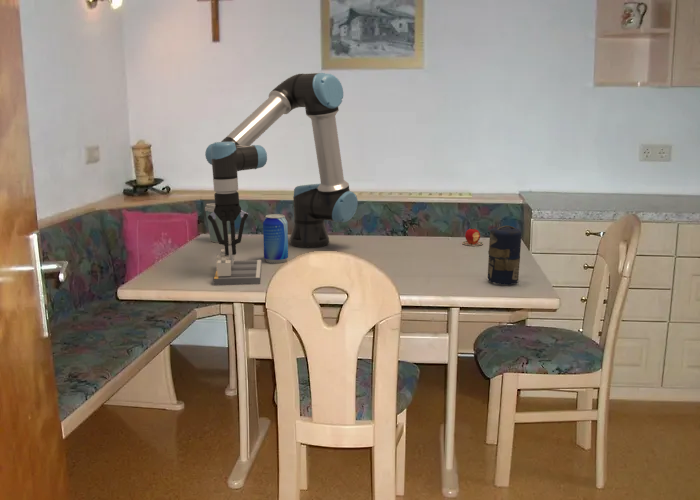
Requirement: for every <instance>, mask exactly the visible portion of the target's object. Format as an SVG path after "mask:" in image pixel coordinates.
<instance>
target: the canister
mask: <svg viewBox="0 0 700 500" xmlns="http://www.w3.org/2000/svg"><path fill="white" fill-rule="evenodd" d="M521 245H522V231H521V230H520V229H519V228H516V227H514V226H510V225H503V226H497V227H492V228H491V229H490V232H489V247H488V262H487V263H488V264H487V280H488V281H490V282H491V283H493V284H498V285H503V286H504V285H508V286H509V285H513V284H517V283H518V281H519V278H520V276H519V275H520V272H519V271H520V263H521V262H520V261H521V247H522V246H521Z"/></svg>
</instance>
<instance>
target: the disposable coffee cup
mask: <svg viewBox="0 0 700 500" xmlns="http://www.w3.org/2000/svg"><path fill="white" fill-rule="evenodd" d="M214 209H215V202H214V203H206V204H205V207H204V211H205V215H206V216H205V217H206V221H207V227H208V228H207V229H208V232H209V233H208V234H209V239H210V241H211V242H212V243H216V244H217V243H218V244H219V242H218V240H217V237H216V234H215V231H214V228H213V226H212V223H211V221H210V220H209V219H208V215H209V214H211V213H213V212H214ZM215 216H216V219H215V220H216V222H217V225H218V228H219V231H220V234H221V237H222V239H223V240H224V235H223V225H222V221H221V220H220V219H219V218H218V216H217V215H215ZM227 230H228V233H229V231H230V221H227Z"/></svg>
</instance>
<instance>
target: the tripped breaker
mask: <svg viewBox="0 0 700 500" xmlns="http://www.w3.org/2000/svg"><path fill="white" fill-rule="evenodd" d="M222 258H226V260H229V255H226V254H225V252H221V251H220V254H217V255H216V262H217V261H218V260H222Z"/></svg>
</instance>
